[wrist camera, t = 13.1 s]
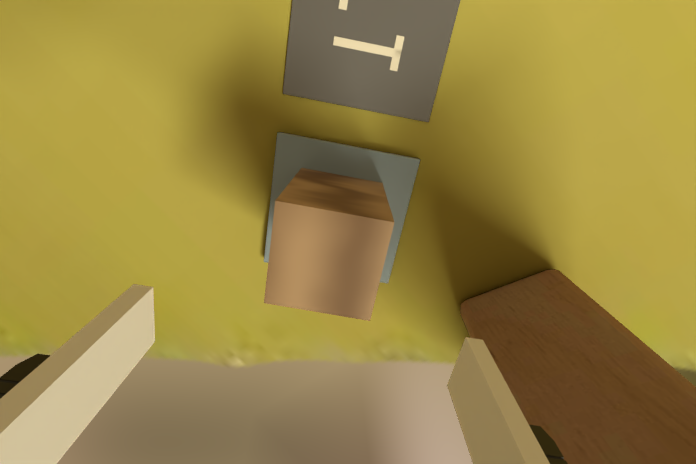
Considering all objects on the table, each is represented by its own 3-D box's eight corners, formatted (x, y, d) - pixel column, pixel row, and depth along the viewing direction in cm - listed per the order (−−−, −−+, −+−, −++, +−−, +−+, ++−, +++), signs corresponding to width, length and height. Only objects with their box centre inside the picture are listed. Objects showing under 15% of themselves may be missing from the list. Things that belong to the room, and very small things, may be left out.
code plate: (282, 93, 27) (282, 93, 27) (302, -96, 23) (302, -97, 23) (428, 122, 28) (428, 122, 28) (474, -58, 23) (475, -58, 23)
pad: (265, 259, 33) (263, 261, 32) (278, 131, 28) (277, 132, 28) (387, 280, 33) (388, 283, 33) (419, 158, 29) (420, 159, 28)
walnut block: (291, 242, 31) (264, 302, 22) (301, 167, 29) (275, 200, 19) (366, 255, 32) (369, 320, 22) (382, 182, 29) (394, 222, 20)
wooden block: (454, 299, 34) (573, 545, 15) (555, 262, 32) (829, 487, 13) (484, 371, 37) (613, 645, 18) (578, 340, 35) (824, 609, 17)
